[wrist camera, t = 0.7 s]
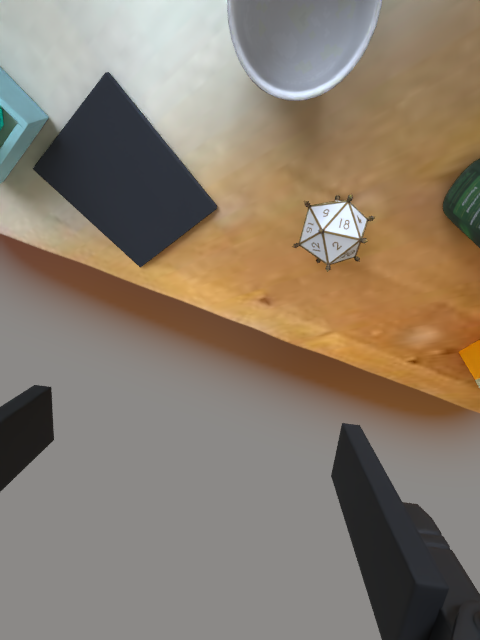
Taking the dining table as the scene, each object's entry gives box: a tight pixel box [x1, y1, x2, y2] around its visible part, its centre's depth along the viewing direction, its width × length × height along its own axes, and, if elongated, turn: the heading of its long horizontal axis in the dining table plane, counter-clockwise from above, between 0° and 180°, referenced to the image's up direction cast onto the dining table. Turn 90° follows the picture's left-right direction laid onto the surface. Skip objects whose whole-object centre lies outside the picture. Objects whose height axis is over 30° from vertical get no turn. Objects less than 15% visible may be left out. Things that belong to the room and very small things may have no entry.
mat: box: [33, 72, 217, 267], centre depth 39 cm, size 17×15×1 cm
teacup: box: [227, 0, 382, 101], centre depth 24 cm, size 14×11×8 cm
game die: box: [292, 194, 375, 272], centre depth 37 cm, size 9×8×10 cm
